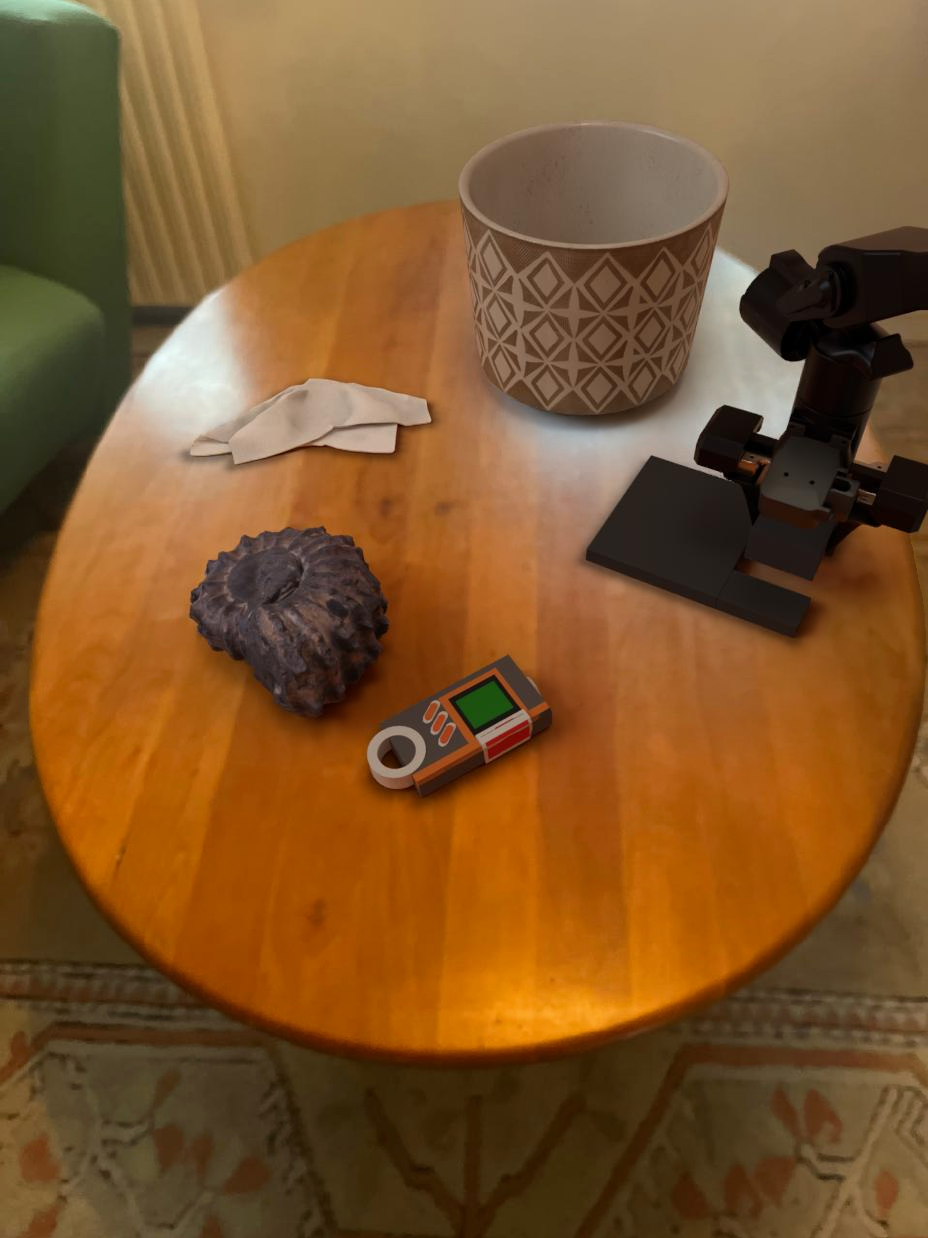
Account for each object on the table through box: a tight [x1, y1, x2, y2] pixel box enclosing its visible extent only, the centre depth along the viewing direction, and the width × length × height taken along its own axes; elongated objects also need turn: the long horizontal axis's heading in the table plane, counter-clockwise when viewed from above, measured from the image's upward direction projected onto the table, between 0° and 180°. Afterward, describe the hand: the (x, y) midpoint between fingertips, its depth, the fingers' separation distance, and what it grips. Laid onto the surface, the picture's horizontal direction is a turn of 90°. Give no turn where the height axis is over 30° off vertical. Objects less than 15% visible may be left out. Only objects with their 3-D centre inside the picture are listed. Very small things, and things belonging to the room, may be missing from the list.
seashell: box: [188, 525, 390, 718], centre depth 81 cm, size 20×13×15 cm
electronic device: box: [366, 654, 553, 798], centre depth 77 cm, size 7×3×15 cm
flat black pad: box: [585, 455, 838, 639], centre depth 90 cm, size 20×15×2 cm
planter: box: [458, 119, 730, 416], centre depth 101 cm, size 26×26×22 cm
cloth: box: [189, 377, 432, 466], centre depth 104 cm, size 26×14×2 cm, turn 91°
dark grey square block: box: [743, 513, 838, 582], centre depth 85 cm, size 6×6×4 cm
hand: (791, 537), depth 85 cm, fingers closed on dark grey square block, 6 cm apart
